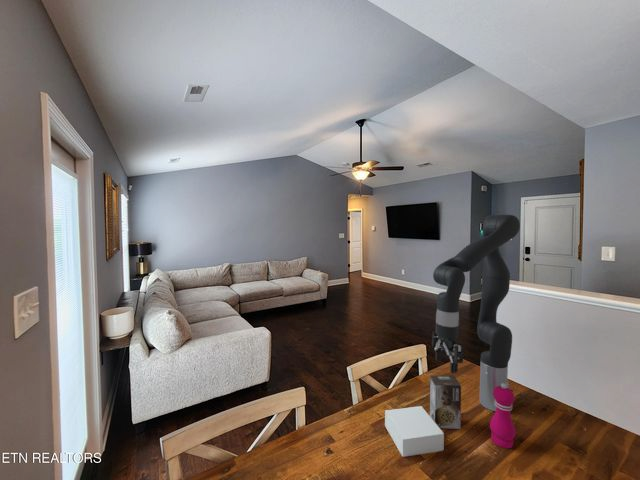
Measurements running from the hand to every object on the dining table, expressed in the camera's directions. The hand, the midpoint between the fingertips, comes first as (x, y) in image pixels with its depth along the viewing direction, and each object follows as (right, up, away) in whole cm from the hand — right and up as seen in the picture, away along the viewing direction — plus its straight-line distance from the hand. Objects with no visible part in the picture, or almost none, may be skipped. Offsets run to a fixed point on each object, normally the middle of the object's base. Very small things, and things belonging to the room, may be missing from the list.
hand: (445, 366), depth 104 cm
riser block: (-14, -22, -6) cm, 27 cm away
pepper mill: (+15, -22, -8) cm, 28 cm away
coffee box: (0, -21, +1) cm, 21 cm away
